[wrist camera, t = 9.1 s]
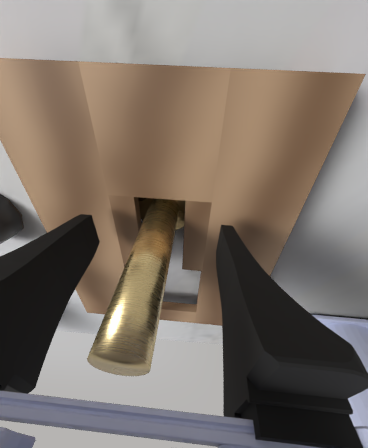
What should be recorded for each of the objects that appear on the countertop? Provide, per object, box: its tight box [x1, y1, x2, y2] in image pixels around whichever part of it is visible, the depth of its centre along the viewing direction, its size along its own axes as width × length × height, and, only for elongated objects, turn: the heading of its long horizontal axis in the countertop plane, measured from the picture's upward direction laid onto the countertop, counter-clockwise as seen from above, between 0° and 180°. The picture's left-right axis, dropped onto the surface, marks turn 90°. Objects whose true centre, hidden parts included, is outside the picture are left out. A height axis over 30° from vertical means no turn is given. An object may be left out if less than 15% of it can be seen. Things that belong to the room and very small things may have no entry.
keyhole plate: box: [0, 58, 365, 326], centre depth 15 cm, size 16×20×2 cm
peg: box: [87, 197, 185, 376], centre depth 10 cm, size 4×4×10 cm
